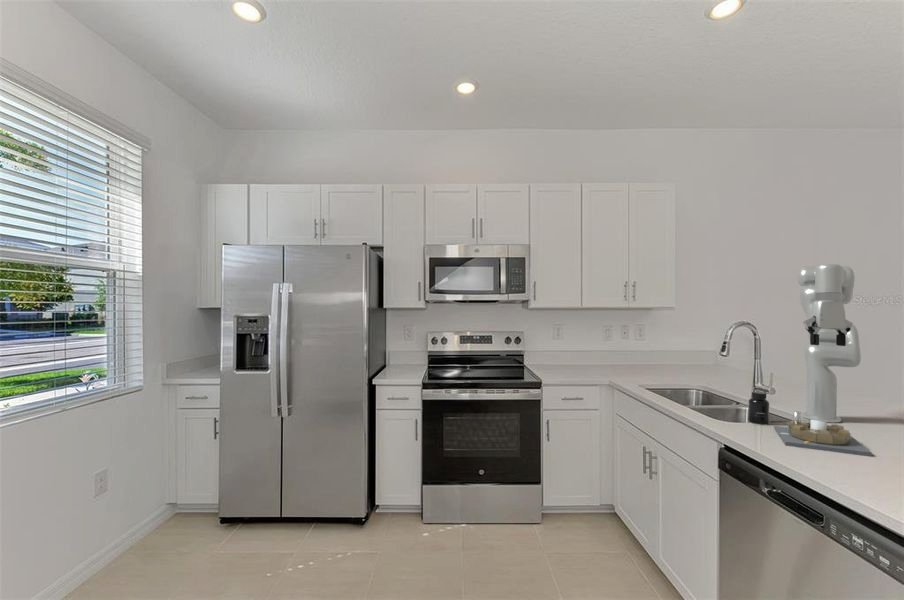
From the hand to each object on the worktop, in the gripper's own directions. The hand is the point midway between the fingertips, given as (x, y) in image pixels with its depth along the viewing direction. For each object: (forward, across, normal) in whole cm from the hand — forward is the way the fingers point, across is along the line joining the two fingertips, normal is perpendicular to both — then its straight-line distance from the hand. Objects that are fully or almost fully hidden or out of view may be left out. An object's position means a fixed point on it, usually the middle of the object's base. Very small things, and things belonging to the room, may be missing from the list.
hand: (827, 345), depth 164 cm
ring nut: (+31, +9, +7) cm, 33 cm away
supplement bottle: (+33, +13, -17) cm, 39 cm away
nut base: (+33, +9, +7) cm, 35 cm away
